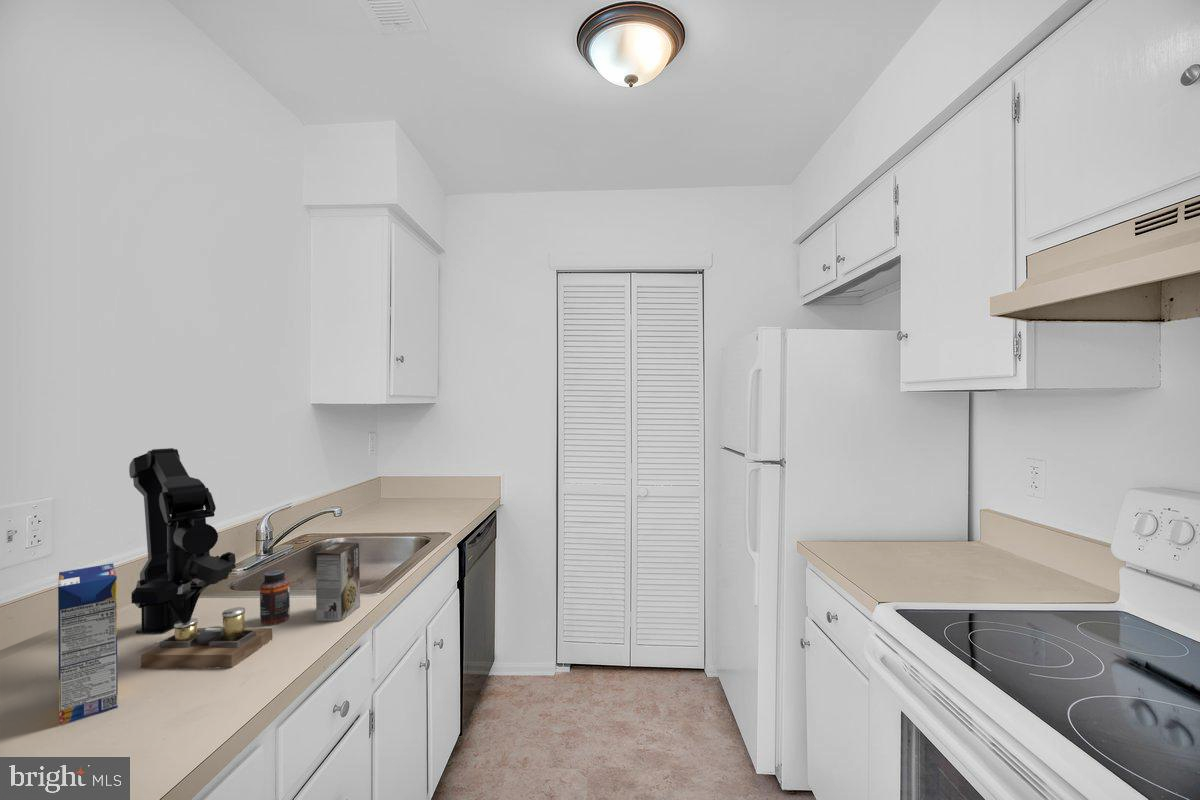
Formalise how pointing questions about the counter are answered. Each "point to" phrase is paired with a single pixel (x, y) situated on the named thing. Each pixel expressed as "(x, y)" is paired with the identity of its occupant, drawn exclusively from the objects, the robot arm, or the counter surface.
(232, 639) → the knob right
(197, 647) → the mount
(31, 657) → the counter surface
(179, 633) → the knob left
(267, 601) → the supplement bottle
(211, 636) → the dial
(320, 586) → the coffee box
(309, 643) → the counter surface
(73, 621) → the beverage box
